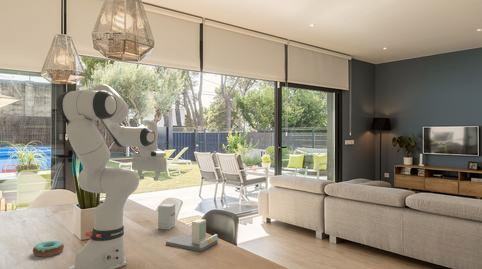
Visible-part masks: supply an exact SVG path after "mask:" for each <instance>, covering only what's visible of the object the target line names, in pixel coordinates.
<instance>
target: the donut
mask: <svg viewBox="0 0 482 269" xmlns="http://www.w3.org/2000/svg"><path fill="white" fill-rule="evenodd" d="M64 248H65V245H64V243H63V242H62V241H58V240H49V241H43V242H40V243H37V244H36V245H34V246H33V248H32V253H33V255H34V256H36V257H40V258H44V257H45V258H46V257H47V258H48V257H51V256H52V257H53V256H56V255H58V254H59V253H61V252H63V250H64Z"/></svg>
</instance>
